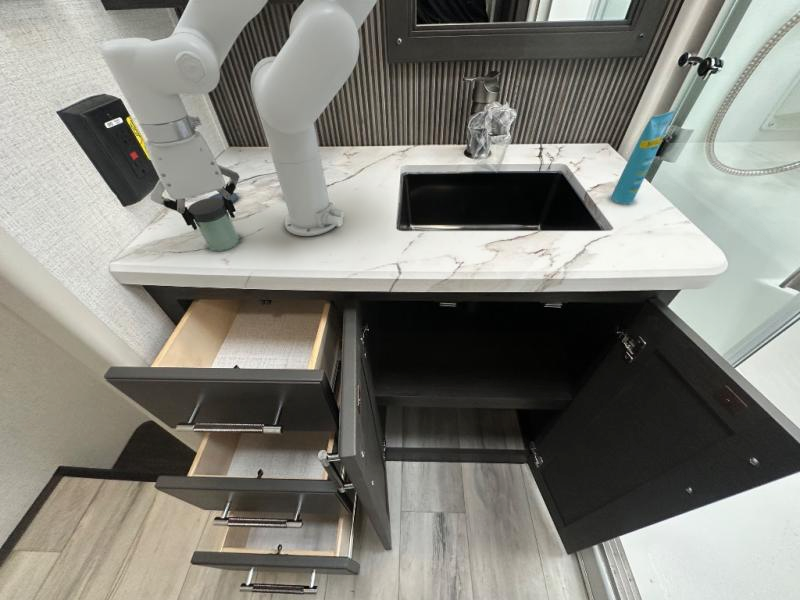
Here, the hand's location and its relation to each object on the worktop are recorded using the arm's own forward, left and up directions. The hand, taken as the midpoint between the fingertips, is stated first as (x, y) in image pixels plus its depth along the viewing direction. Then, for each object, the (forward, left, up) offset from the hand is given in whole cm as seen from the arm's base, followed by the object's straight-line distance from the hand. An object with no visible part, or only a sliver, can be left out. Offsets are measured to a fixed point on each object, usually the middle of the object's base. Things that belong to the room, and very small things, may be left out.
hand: (213, 220), depth 69 cm
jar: (0, 0, -6) cm, 6 cm away
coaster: (+16, -14, -6) cm, 22 cm away
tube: (-77, -54, -6) cm, 94 cm away
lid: (0, 0, +3) cm, 3 cm away
